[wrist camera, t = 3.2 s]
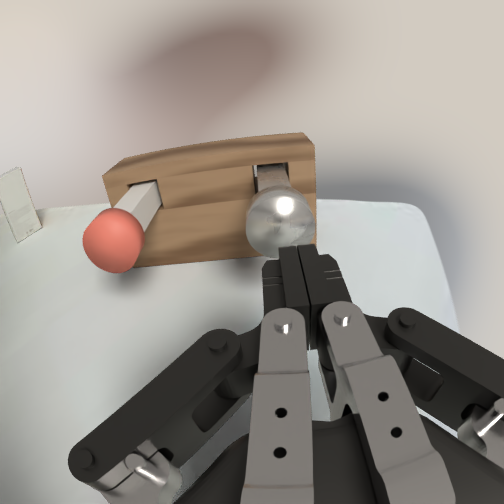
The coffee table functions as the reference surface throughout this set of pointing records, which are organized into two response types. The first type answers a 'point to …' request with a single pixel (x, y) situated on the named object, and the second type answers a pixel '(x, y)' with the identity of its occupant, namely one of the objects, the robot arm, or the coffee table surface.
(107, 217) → the red plunger
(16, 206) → the small box
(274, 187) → the grey plunger
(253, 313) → the coffee table surface
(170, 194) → the walnut housing
